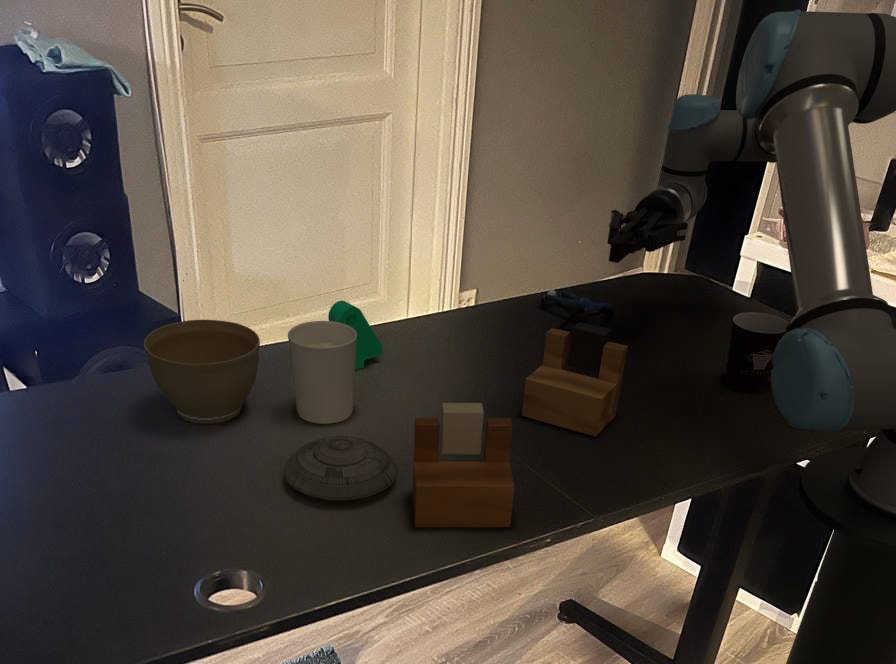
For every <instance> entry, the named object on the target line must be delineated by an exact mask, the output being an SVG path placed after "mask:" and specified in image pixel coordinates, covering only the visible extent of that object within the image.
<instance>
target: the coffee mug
mask: <svg viewBox="0 0 896 664" xmlns="http://www.w3.org/2000/svg"><path fill="white" fill-rule="evenodd" d="M788 324H789V322H788V321H787V320H785V319H784V318H782V317H780V316H777V315H774V314H770V313H765V312H756V311H750V312H748V311H747V312H740V313H738V314H736V315H734V316H733V318H732V324H731V332H730V340H729V349H728V356H727V364H726V373H725V380H724V381H725V383H726V385H727V386H729V387H731V388H733V389H734V390H739V391H742V392H751V393H752V392H753V393H754V392H760V391H763V390H765V389H766V386H767V384H768V382H769V379H770V378H771V370H772V369H773V368H774V366H773V363H772V358H773V353H774V350H775V348H776V346H777V344H778V342H779V340H780V339H781V338H782V337H783V336H784V335H785V334H786V332H785V331H786V327H787V325H788Z"/></svg>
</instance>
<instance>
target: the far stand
mask: <svg viewBox="0 0 896 664" xmlns="http://www.w3.org/2000/svg"><path fill="white" fill-rule="evenodd" d="M570 336H571V331H565V330H563V329H559V328H553V327H551V328H550V329H549V330H547V331H546V334H545V343H544V350H543V359H542V364H541V365H540V366H539V367H538V368H536V370H534V371H533V372H532V373H531V374H529V375H528V376H527V377H525V381H524V388H523V399H522V408H521V409H522V410H521V417H524V418H528V419H531V420H535V421H538V422H542V423H546V424H550V425H553V426H557V427H560V428H564V429H566V430H570V431H575V432H577V433H581V434H585V435H588V436H591V437H597V436H598V435H599V434H600V433H601V432H602V431H603V430H604V428H605V427H607V426H608V424H609V423H611V421H612V420H614V418H615V417H616V416H617V410H618V404H619V399H620V394H621V387H622V381H623V376H624V371H625V365H626V359H627V353H628V347H629V346H628V345H624V344H620V343H615V342H612V341H610V342H608V343H606V344H605V345H604V346H603V352H602V359H601V365H600V372H599V373H598V377H597V378H596V377H592V376H589V375H585V374H581V373H576V372H573V371H569V370H566V367H567V360H568V352H569V344H570V338H571V337H570Z"/></svg>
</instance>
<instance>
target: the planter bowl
mask: <svg viewBox="0 0 896 664" xmlns="http://www.w3.org/2000/svg"><path fill="white" fill-rule="evenodd" d="M260 339H261V338H260V336H259V335H258V333H257V332H256V331H254V330H253V329H252V328H250V327H248V326H246V325H243V324H241V323H237V322H233V321H229V320H228V321H226V320H218V319H190V320H183V321H177V322H173V323H170V324H165V325H163V326H160V327H158V328H156V329H154V330H152V331H151V332H149V334H148V335H146V337H145V338H144V340H143V349H144V352H145V354H146V357H147V362H148V366H149V370H150V372H151V375H152V378H153V380H154V382H155V384H156V385H157V387H158V389H159V391H160V392H161V394H162V395H163V396H164V398H165V399H166V400H167V401H168V402H169V403H170V404H171V405H172V406H173V407H174V409H175V408H176V409H177V410H178V411H180V412H181V413H183V414H185V415H189V416H190V417H197V418H213V417H221V416H225V415H228V414H231V413H233V412H235V411H236V410H238V409H239V408H240V407H241V408H240V409H239V410H238V411H237V412H236V413H234V414H232V415H230V416H227V417H224V418H219V419H213V420H198V419H191V418H187V417H185V416H182V415H181V414H179V413H178V412H177V411H176V409H175V411H176V414H177V416H179V417H180V419H182V420H184V421H187V422H190V423H194V424H201V425H203V424H205V425H207V424H208V425H209V424H210V425H213V424H218V423H219V424H220V423H224V422H226V421H229V420H232V419H234V418H236V417H237V416H238V415H239V414H240V413H241V411H242V408H243V403H244V401H245V400H246V399H247V397H248V396H249V394H250V392H251V390H252V388H253V386H254V385H255V380H256V378H257V374H258V369H259V357H260V355H259V351H260V347H261V340H260ZM241 405H242V406H241Z"/></svg>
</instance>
